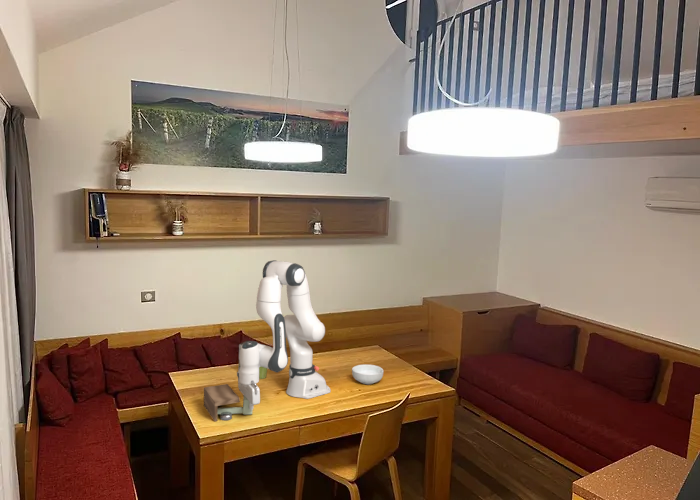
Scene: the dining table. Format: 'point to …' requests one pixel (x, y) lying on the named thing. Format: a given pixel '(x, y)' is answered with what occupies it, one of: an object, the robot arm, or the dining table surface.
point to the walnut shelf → (218, 398)
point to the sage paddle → (237, 408)
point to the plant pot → (262, 372)
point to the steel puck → (226, 416)
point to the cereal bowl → (367, 373)
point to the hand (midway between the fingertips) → (248, 406)
